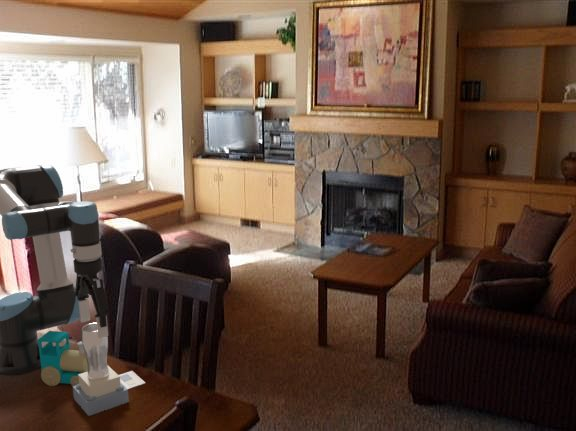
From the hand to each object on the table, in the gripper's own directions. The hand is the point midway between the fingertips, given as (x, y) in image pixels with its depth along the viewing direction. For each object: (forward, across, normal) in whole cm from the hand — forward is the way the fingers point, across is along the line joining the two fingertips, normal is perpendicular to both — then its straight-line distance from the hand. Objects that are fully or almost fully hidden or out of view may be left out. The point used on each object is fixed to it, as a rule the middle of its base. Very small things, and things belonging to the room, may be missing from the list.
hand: (94, 328), depth 177 cm
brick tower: (+22, 0, 0) cm, 23 cm away
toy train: (+23, -16, -2) cm, 28 cm away
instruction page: (+23, -6, +11) cm, 26 cm away
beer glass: (+15, 0, 0) cm, 15 cm away
